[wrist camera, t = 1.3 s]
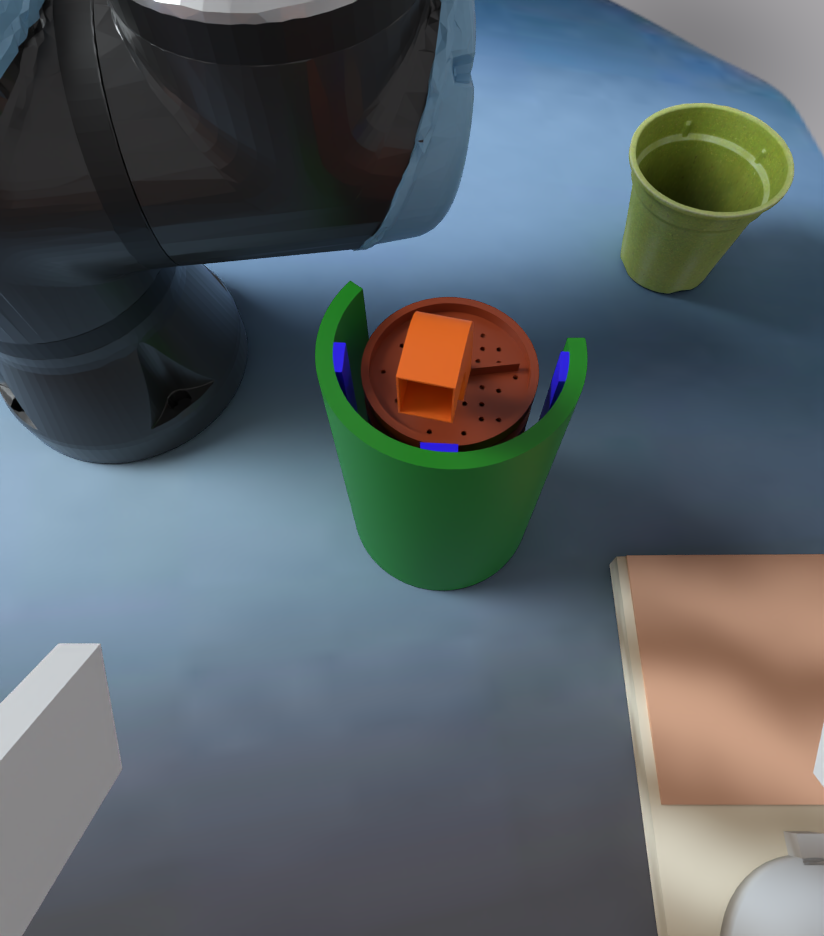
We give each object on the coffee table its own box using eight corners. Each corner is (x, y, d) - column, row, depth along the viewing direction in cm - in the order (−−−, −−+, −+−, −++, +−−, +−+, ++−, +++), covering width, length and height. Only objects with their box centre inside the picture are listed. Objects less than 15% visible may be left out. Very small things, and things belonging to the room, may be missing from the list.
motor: (526, 451, 40) (611, 187, 22) (528, 596, 36) (632, 422, 18) (360, 443, 40) (309, 178, 22) (346, 585, 37) (270, 406, 19)
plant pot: (572, 279, 46) (604, 177, 38) (627, 193, 49) (666, 83, 41) (701, 336, 43) (763, 239, 36) (749, 242, 47) (816, 135, 39)
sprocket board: (609, 564, 37) (632, 538, 33) (842, 563, 37) (894, 537, 33) (683, 1130, 27) (729, 1195, 23) (1003, 1132, 27) (1108, 1198, 23)
